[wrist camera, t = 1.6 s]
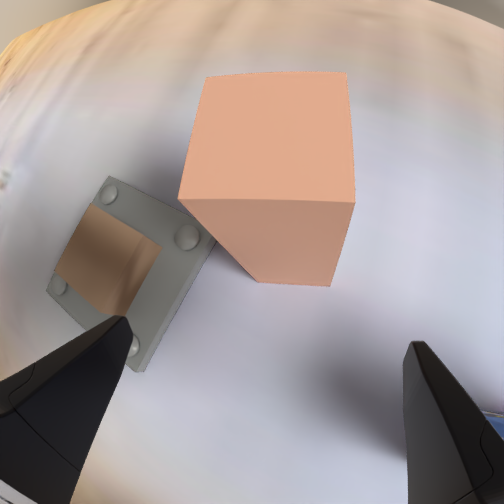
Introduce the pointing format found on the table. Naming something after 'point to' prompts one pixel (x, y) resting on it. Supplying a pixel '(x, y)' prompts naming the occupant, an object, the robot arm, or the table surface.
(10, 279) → the table surface
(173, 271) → the baseplate
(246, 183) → the tall brick
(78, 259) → the short brick
